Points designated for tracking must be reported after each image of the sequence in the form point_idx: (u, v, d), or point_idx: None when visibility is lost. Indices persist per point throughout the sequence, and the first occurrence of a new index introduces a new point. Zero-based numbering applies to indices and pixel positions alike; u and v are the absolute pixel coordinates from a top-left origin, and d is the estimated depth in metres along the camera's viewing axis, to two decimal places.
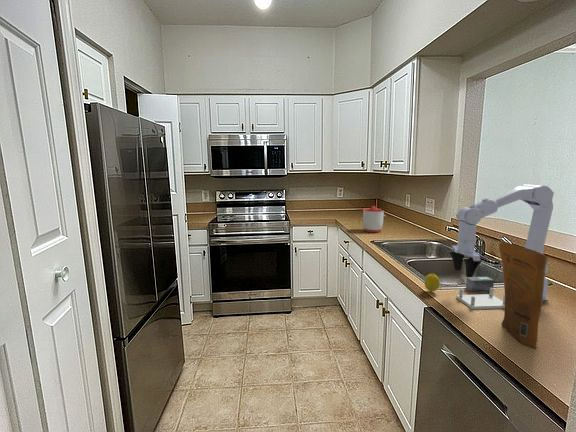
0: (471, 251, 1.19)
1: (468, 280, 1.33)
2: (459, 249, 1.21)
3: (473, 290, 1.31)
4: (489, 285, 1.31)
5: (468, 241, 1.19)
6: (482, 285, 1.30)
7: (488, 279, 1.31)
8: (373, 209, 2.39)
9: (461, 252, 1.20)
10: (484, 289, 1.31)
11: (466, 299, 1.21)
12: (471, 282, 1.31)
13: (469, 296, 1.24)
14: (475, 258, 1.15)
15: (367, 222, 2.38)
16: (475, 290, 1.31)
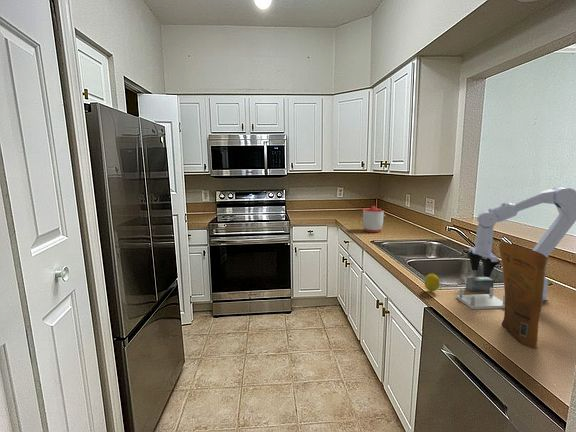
0: (488, 252, 1.27)
1: (468, 280, 1.33)
2: (477, 250, 1.29)
3: (473, 290, 1.31)
4: (489, 285, 1.31)
5: (486, 243, 1.27)
6: (482, 285, 1.30)
7: (488, 279, 1.31)
8: (373, 209, 2.39)
9: (479, 253, 1.28)
10: (484, 289, 1.31)
11: (466, 299, 1.21)
12: (471, 282, 1.31)
13: (469, 296, 1.24)
14: (493, 259, 1.23)
15: (367, 222, 2.38)
16: (475, 290, 1.31)
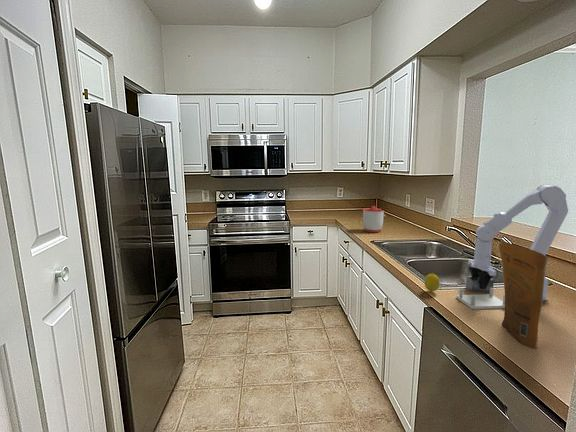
0: (487, 266, 1.28)
1: (468, 280, 1.33)
2: (476, 264, 1.30)
3: (473, 290, 1.31)
4: (489, 285, 1.31)
5: (484, 257, 1.28)
6: None
7: None
8: (373, 209, 2.39)
9: (478, 267, 1.29)
10: (484, 289, 1.31)
11: (466, 299, 1.21)
12: (471, 282, 1.31)
13: (469, 296, 1.24)
14: (491, 273, 1.24)
15: (367, 222, 2.38)
16: (475, 290, 1.31)
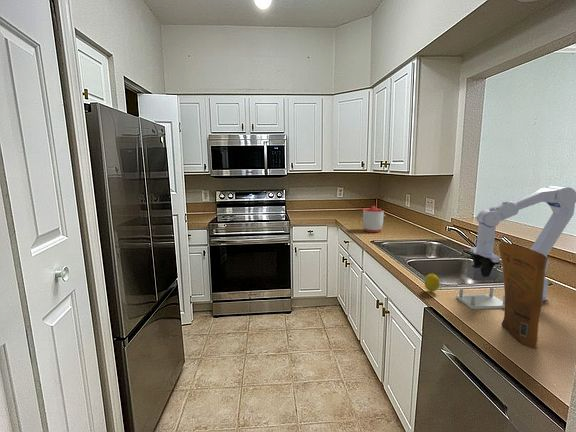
0: (490, 253, 1.22)
1: (470, 268, 1.27)
2: (478, 251, 1.24)
3: (475, 278, 1.25)
4: (492, 273, 1.25)
5: (487, 243, 1.22)
6: None
7: None
8: (373, 209, 2.39)
9: (480, 253, 1.23)
10: (486, 277, 1.25)
11: (466, 299, 1.21)
12: (473, 269, 1.25)
13: (469, 296, 1.24)
14: (494, 259, 1.18)
15: (367, 222, 2.38)
16: (477, 278, 1.25)
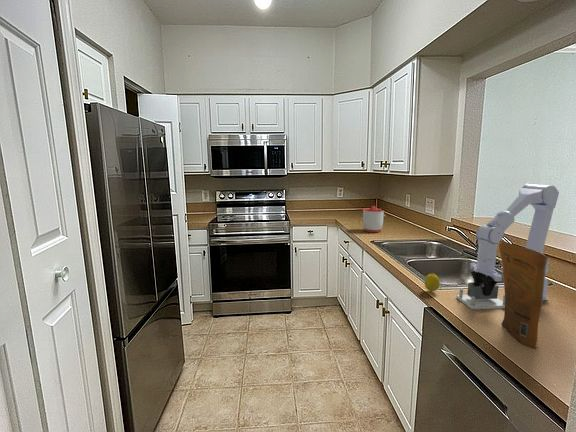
0: (492, 270, 1.16)
1: (470, 286, 1.20)
2: (479, 268, 1.18)
3: (475, 297, 1.18)
4: (493, 291, 1.18)
5: (489, 260, 1.15)
6: None
7: None
8: (373, 209, 2.39)
9: (481, 271, 1.17)
10: (488, 296, 1.18)
11: (466, 299, 1.21)
12: (473, 288, 1.18)
13: None
14: (496, 278, 1.11)
15: (367, 222, 2.38)
16: (478, 297, 1.18)
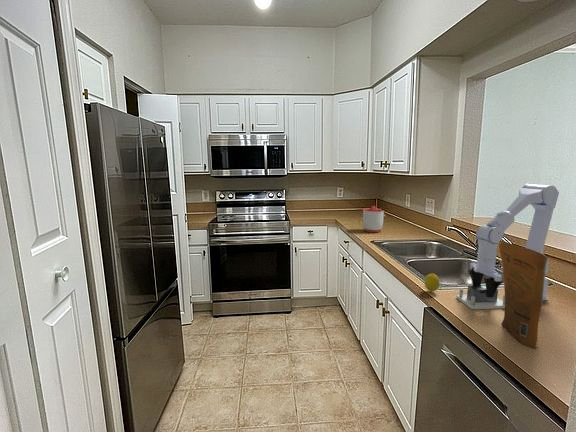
0: (492, 270, 1.16)
1: (469, 289, 1.20)
2: (479, 268, 1.18)
3: (475, 300, 1.18)
4: None
5: (489, 260, 1.15)
6: (485, 295, 1.18)
7: None
8: (373, 209, 2.39)
9: (481, 271, 1.17)
10: (487, 299, 1.18)
11: (466, 299, 1.21)
12: (473, 291, 1.18)
13: None
14: (496, 278, 1.11)
15: (367, 222, 2.38)
16: (477, 300, 1.18)
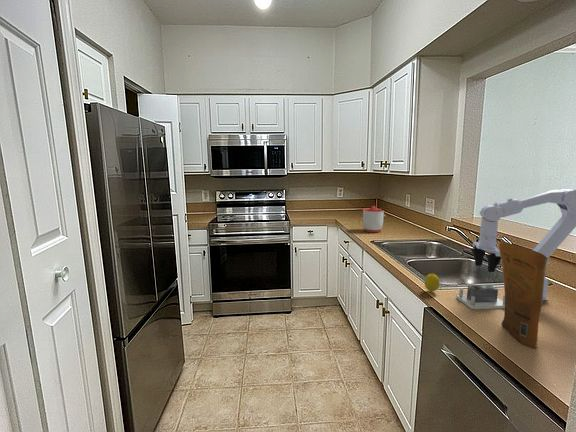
0: (493, 247, 1.25)
1: (469, 289, 1.20)
2: (481, 245, 1.27)
3: (475, 300, 1.18)
4: (492, 295, 1.18)
5: (490, 237, 1.24)
6: (485, 295, 1.18)
7: (492, 288, 1.19)
8: (373, 209, 2.39)
9: (483, 248, 1.26)
10: (487, 299, 1.18)
11: (466, 299, 1.21)
12: (473, 291, 1.18)
13: None
14: (497, 254, 1.21)
15: (367, 222, 2.38)
16: (477, 300, 1.18)
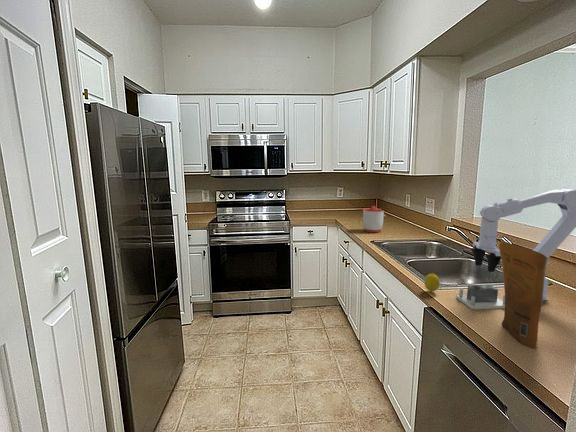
0: (493, 247, 1.25)
1: (469, 289, 1.20)
2: (481, 245, 1.27)
3: (475, 300, 1.18)
4: (492, 295, 1.18)
5: (490, 237, 1.24)
6: (485, 295, 1.18)
7: (492, 288, 1.19)
8: (373, 209, 2.39)
9: (483, 248, 1.26)
10: (487, 299, 1.18)
11: (466, 299, 1.21)
12: (473, 291, 1.18)
13: None
14: (497, 253, 1.21)
15: (367, 222, 2.38)
16: (477, 300, 1.18)
